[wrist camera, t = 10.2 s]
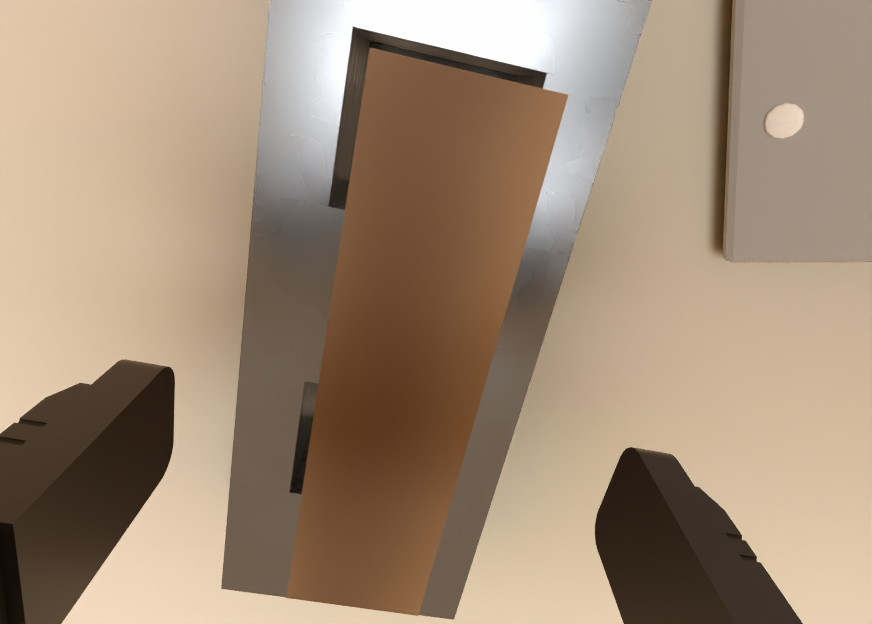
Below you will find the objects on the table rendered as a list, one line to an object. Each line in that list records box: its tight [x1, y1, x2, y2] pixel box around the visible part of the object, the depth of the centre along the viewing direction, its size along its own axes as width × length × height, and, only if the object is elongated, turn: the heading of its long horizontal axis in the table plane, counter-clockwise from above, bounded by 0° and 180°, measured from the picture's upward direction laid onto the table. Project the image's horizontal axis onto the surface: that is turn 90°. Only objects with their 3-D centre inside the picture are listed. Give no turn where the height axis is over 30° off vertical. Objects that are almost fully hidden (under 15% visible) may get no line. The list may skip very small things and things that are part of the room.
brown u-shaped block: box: [286, 47, 568, 616], centre depth 14 cm, size 3×12×8 cm, turn 168°
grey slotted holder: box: [221, 0, 652, 619], centre depth 16 cm, size 8×22×4 cm, turn 168°
